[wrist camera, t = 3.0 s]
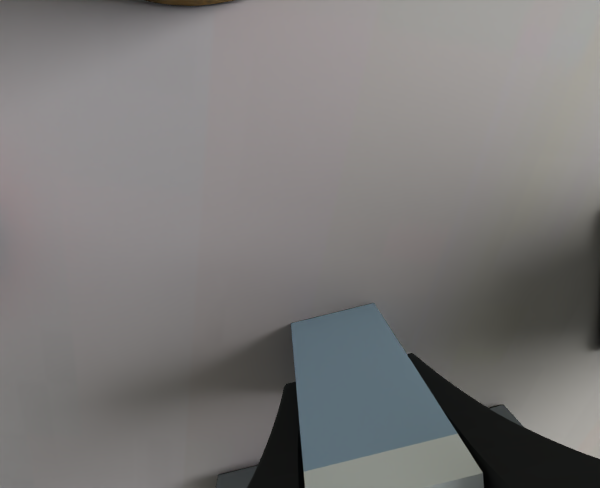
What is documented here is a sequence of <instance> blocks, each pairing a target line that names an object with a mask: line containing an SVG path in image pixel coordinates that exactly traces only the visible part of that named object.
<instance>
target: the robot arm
mask: <svg viewBox="0 0 600 488" xmlns="http://www.w3.org/2000/svg"><path fill="white" fill-rule="evenodd" d="M407 355H408V357H409V358H410V360H411V362H412V363H413V365H414V366H415V368H416V369H417V371H418V372H419V374H420V376H421V377H422V379H423V380H424V382H425V383H426V385H427V387H428V388H429V390H430V391H431V393H432V394H433V396H434V397H435V399H436V401H437V402H438V404H439V405H440V407H441V408H442V410H443V412H444V413H445V415H446V416H447V418H448V419H449V421H450V422H451V424H452V426H453V427H454V429H455V430H456V432H457V433H458V435H459V437H460V438H461V440H462V441H463V443H464V444H465V446H466V447H467V449H468V451H469V452H470V454H471V455H472V457H473V458H474V460H475V462H476V463H477V465H478V466H479V468H480V469H481V471H482V472H483V482H484V488H600V459H598V458H595V457H592V456H589V455H586V454H584V453H581V452H579V451H576V450H574V449H571V448H569V447H566V446H564V445H561V444H559V443H557V442H554V441H552V440H550V439H548V438H545V437H543V436H541V435H539V434H537V433H535V432H533V431H530V430H528V429H526V428H524V427H522V426H520V425H518V424H516V423H514V422H512V421H510V420H508V419H506V418H505V417H503V416H501V415H499V414H498V413H496V412H494V411H492V410H491V409H489V408H487V407H486V406H484V405H482V404H481V403H479V402H478V401H476V400H475V399H473V398H472V397H470V396H468V395H467V394H465V393H464V392H463V391H461V390H460V389H458V388H457V387H455V386H454V385H453V384H451V383H450V382H448V381H447V380H446V379H444V378H443V377H442V376H440V375H439V374H438V373H436V372H435V371H434V370H433V369H431V368H430V367H429V366H428V365H426V364H425V363H424V362H423V361H421V360H420V359H419V358H418V357H417V356H415V355H414V354H412V353H410V354H407ZM247 488H305V482H304V471H303V459H302V447H301V436H300V424H299V412H298V401H297V389H296V382H292V383H288V384H286V385H285V386H284V390H283V395H282V399H281V403H280V407H279V410H278V414H277V417H276V420H275V423H274V426H273V429H272V432H271V434H270V437H269V440H268V442H267V445H266V447H265V450H264V452H263V455H262V457H261V459H260V462H259V464H258V466H257V468H256V470H255V472H254V474H253V477H252V479H251V481H250V482H249V484H248V486H247Z"/></svg>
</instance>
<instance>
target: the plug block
mask: <svg viewBox="0 0 600 488" xmlns="http://www.w3.org/2000/svg"><path fill="white" fill-rule="evenodd" d="M291 331H292V342H293V354H294V366H295V377H296V389H297V401H298V412H299V424H300V436H301V447H302V459H303V471H304V482H305V488H484V482H483V472H482V471H481V469H480V468H479V466H478V465H477V463H476V462H475V460H474V458H473V457H472V455H471V454H470V452H469V451H468V449H467V447H466V446H465V444H464V443H463V441H462V440H461V438H460V437H459V435H458V433H457V432H456V430H455V429H454V427H453V426H452V424H451V422H450V421H449V419H448V418H447V416H446V415H445V413H444V412H443V410H442V408H441V407H440V405H439V404H438V402H437V401H436V399H435V397H434V396H433V394H432V393H431V391H430V390H429V388H428V387H427V385H426V383H425V382H424V380H423V379H422V377H421V376H420V374H419V372H418V371H417V369H416V368H415V366H414V365H413V363H412V362H411V360H410V358H409V357H408V355H407V354H406V352H405V351H404V349H403V348H402V346H401V344H400V343H399V341H398V340H397V338H396V337H395V335H394V333H393V332H392V330H391V329H390V327H389V326H388V324H387V323H386V321H385V319H384V318H383V316H382V315H381V313H380V312H379V310H378V308H377V307H376V305H375V304H374V303H372V304H368V305H364V306H360V307H355V308H351V309H347V310H343V311H339V312H335V313H331V314H327V315H323V316H319V317H315V318H311V319H307V320H303V321H298V322H294V323H291Z"/></svg>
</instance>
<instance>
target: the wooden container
mask: <svg viewBox="0 0 600 488" xmlns="http://www.w3.org/2000/svg"><path fill="white" fill-rule="evenodd" d="M145 1H150V2H155V3H160V4H168V5H184V6H199V5H208V4H217V3H222V2H228V1H234V0H145Z"/></svg>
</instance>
